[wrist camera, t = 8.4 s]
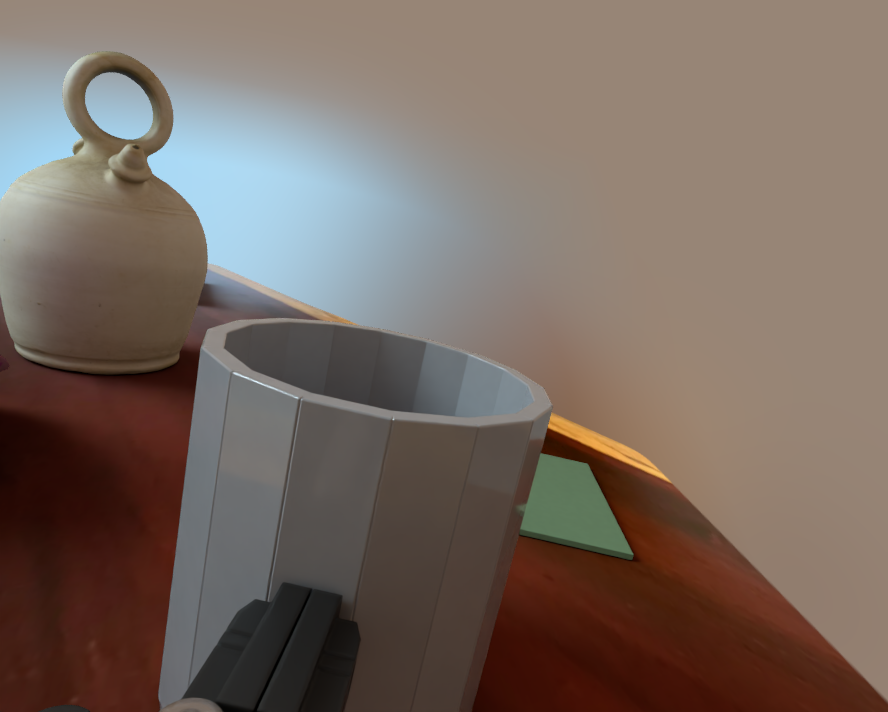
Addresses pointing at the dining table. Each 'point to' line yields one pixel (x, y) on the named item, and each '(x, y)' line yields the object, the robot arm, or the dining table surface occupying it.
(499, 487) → the faceted pen holder
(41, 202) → the jug
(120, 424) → the dining table surface
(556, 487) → the cloth
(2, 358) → the decorative fish
